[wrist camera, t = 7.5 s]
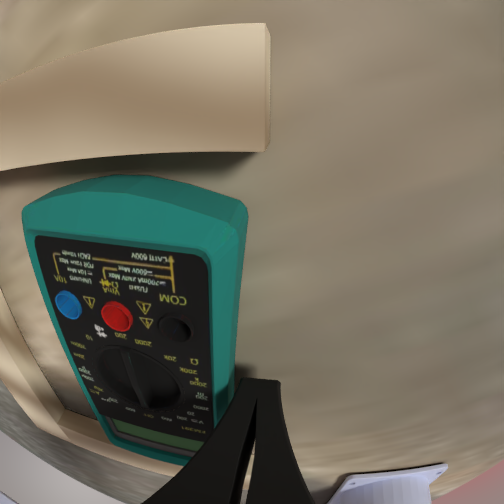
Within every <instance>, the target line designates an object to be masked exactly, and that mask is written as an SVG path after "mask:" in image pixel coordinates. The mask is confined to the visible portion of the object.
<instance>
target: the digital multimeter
mask: <svg viewBox="0 0 504 504" xmlns="http://www.w3.org/2000/svg"><path fill="white" fill-rule="evenodd" d="M22 224H23V230H24V236H25V241H26V245H27V249H28V252H29V256H30V259H31V263H32V266H33V269H34V272H35V276H36V279H37V282H38V285H39V288H40V291H41V294H42V296H43V299H44V302H45V305H46V307H47V310H48V313H49V315H50V318H51V321H52V323H53V326H54V328H55V331H56V333H57V335H58V338H59V340H60V342H61V345H62V347H63V349H64V352H65V354H66V356H67V358H68V360H69V363H70V365H71V367H72V369H73V371H74V374H75V376H76V378H77V380H78V382H79V384H80V386H81V388H82V390H83V392H84V394H85V396H86V398H87V400H88V402H89V404H90V406H91V408H92V410H93V412H94V414H95V415H96V417H97V419H98V421H99V423H100V425H101V427H102V428H103V430H104V432H105V434H106V436H107V437H108V439H109V441H110V442H111V443H112V444H114V445H115V446H117V447H120V448H123V449H125V450H128V451H131V452H133V453H136V454H139V455H142V456H146V457H149V458H152V459H155V460H159V461H163V462H167V463H171V464H175V465H180V466H185V465H186V464H187V463H188V461H189V460H190V459H191V458H192V457H193V456H194V455H195V453H196V452H197V451H198V450H199V449H200V447H201V446H202V445H203V444H204V442H205V441H206V439H207V438H208V437H209V435H210V434H211V433H212V431H213V430H214V428H215V427H216V425H217V424H218V422H219V421H220V419H221V417H222V416H223V414H224V412H225V411H226V409H227V407H228V406H229V404H230V402H231V400H232V398H233V396H234V366H235V348H236V335H237V323H238V310H239V298H240V287H241V278H242V269H243V260H244V251H245V242H246V233H247V224H248V212H247V208H246V207H245V205H244V204H243V203H242V202H241V201H240V200H237V199H234V198H231V197H228V196H225V195H222V194H219V193H216V192H213V191H210V190H206V189H203V188H200V187H197V186H194V185H190V184H186V183H182V182H177V181H173V180H168V179H163V178H159V177H154V176H146V175H110V176H104V177H98V178H93V179H88V180H83V181H80V182H77V183H74V184H70V185H67V186H64V187H61V188H58V189H56V190H53V191H51V192H50V193H48V194H46V195H44V196H42V197H41V198H39V199H37V200H35V201H33V202H32V203H30V204H28V205H27V206H25V207H24V208H23V210H22ZM208 285H209V307H208ZM209 325H210V340H209ZM97 349H98V350H97ZM210 356H211V365H210ZM211 380H212V386H211ZM115 394H116V395H115ZM118 396H119V397H118ZM121 398H122V399H121ZM212 400H213V404H212ZM126 401H127V402H126ZM128 402H129V403H128ZM130 403H131V404H130ZM132 404H133V405H132ZM137 406H138V407H137ZM140 407H141V408H140ZM143 408H144V409H143ZM146 409H148V410H146ZM151 410H153V411H151ZM159 411H165V412H159ZM213 417H214V421H213Z"/></svg>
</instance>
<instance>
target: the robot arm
mask: <svg viewBox="0 0 504 504" xmlns="http://www.w3.org/2000/svg"><path fill="white" fill-rule="evenodd" d="M280 384H281V383H280V382H279V381H278V380H267V379H256V378H245V377H243V378H242V379H240V382H239V385H238V387H237V390H236V392H235V394H234V396H233V398H232V400H231V402H230V404H229V406H228V407H227V409H226V411H225V412H224V414H223V416H222V417H221V419H220V421H219V422H218V424H217V425H216V427H215V428H214V430H213V431H212V433H211V434H210V435H209V437H208V438H207V439H206V441H205V442H204V444H203V445H202V446H201V447H200V449H199V450H198V451H197V452H196V453H195V455H194V456H193V457H192V458H191V459H190V460H189V461H188V463H187V464H186V465H185V466H184V467H183V468H182V469H181V470H180V471H179V472H178V473H177V474H176V475H175V476H174V477H173V478H172V479H171V480H170V481H169V482H168V483H166V484H165V485H164V486H163V487H162V488H160V489H159V490H158V491H157V492H156V493H154V494H153V495H152V496H151V497H150V498H148V499H147V500H146V501H144V502H143V503H141V504H240V501H241V495H242V489H243V485H244V480H245V477H246V473H247V469H248V465H249V461H250V458H251V454H252V450H253V446H254V442H255V453H254V461H253V466H252V472H251V478H250V483H249V489H248V494H247V499H246V504H315V502H314V500H313V498H312V496H311V495H310V493H309V490H308V488H307V486H306V484H305V481H304V479H303V477H302V474H301V472H300V469H299V467H298V464H297V461H296V459H295V456H294V453H293V450H292V446H291V443H290V440H289V436H288V432H287V428H286V424H285V420H284V415H283V409H282V403H281V391H280ZM447 468H448V466H447V464H446V463H445V464H439V465H434V466H428V467H422V468H416V469H409V470H401V471H392V472H383V473H371V474H355V475H350V476H348V477H347V478H346V479H345V481H344V482H343V483H342V485H341V486H340V487H339V489H338V490H337V491H336V493H335V494H334V495H333V497H332V498H331V499H330V501H329V502H328V503H327V504H431V498H430V490H429V484H431V483H432V482H433V481H434V480H435V479H436V478H438V477H439V476H440V475H441V474H442V473H443V472H444V471H446V470H447ZM0 504H18V503H17V502H15V501H14V500H13V499H11V498H10V497H8V496H7V495H6V494H4V493H3V492H1V491H0Z"/></svg>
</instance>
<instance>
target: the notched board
mask: <svg viewBox="0 0 504 504" xmlns="http://www.w3.org/2000/svg"><path fill="white" fill-rule="evenodd" d="M269 143H270V34H269V31H268V29H267V27H266V24H265V23H245V24H226V25H213V26H203V27H194V28H186V29H178V30H172V31H165V32H159V33H154V34H148V35H143V36H138V37H134V38H129V39H125V40H121V41H116V42H112V43H108V44H105V45H101V46H97V47H94V48H90V49H87V50H84V51H80V52H77V53H74V54H71V55H68V56H65V57H62V58H59V59H57V60H54V61H51V62H48V63H46V64H43V65H41V66H38V67H36V68H33V69H31V70H28V71H26V72H24V73H21V74H19V75H17V76H15V77H12V78H10V79H8V80H6V81H4V82H2V83H0V171H3V170H8V169H14V168H20V167H26V166H32V165H39V164H46V163H53V162H60V161H68V160H77V159H86V158H96V157H107V156H118V155H132V154H148V153H170V152H214V151H231V152H265V150H266V149H267V147H268V145H269ZM0 378H1V380H2V381H3V383H4V384H5V385H6V387H7V388H8V390H9V391H10V393H11V394H12V395H13V397H14V398H15V399H16V401H17V402H18V403H19V405H20V406H21V407H22V409H23V410H24V411H25V412H26V414H27V415H28V416H29V417H30V419H31V420H32V421H33V422H34V423H35V425H36V426H37V427H38V428H40V429H42V430H44V431H46V432H48V433H50V434H52V435H54V436H57V437H59V438H61V439H63V440H65V441H68V442H70V443H72V444H75V445H77V446H79V447H82V448H84V449H87V450H89V451H92V452H95V453H97V454H100V455H103V456H105V457H108V458H111V459H114V460H117V461H120V462H123V463H126V464H129V465H132V466H136V467H139V468H142V469H146V470H149V471H153V472H157V473H161V474H165V475H169V476H173V477H174V476H175V475H176V474H177V473H178V472H179V471H180V470H181V469H182V468H183V467H184V466H180V465H175V464H171V463H167V462H163V461H159V460H155V459H152V458H149V457H146V456H142V455H139V454H136V453H133V452H131V451H128V450H125V449H123V448H120V447H117V446H115V445H114V444H112V443H111V442H110V441H109V439H108V437H107V436H106V434H105V432H104V430H103V428H102V427H101V425H100V423H99V421H97V420H94V419H91V418H88V417H86V416H83V415H80V414H77V413H75V412H72V411H70V410H67V409H65V407H64V406H63V404H62V403H61V401H60V400H59V398H58V397H57V395H56V394H55V392H54V391H53V389H52V388H51V386H50V384H49V383H48V381H47V380H46V378H45V376H44V375H43V373H42V371H41V370H40V368H39V366H38V364H37V363H36V361H35V359H34V357H33V356H32V354H31V352H30V350H29V348H28V346H27V344H26V342H25V341H24V339H23V337H22V335H21V333H20V331H19V329H18V327H17V325H16V322H15V320H14V318H13V316H12V314H11V312H10V309H9V307H8V305H7V303H6V300H5V298H4V296H3V293H2V291H1V288H0ZM253 461H254V455H253V454H251V458H250V461H249V465H248V469H247V473H246V477H245V480H244V485H243V489H247V490H248V489H249V483H250V478H251V472H252V466H253Z"/></svg>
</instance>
